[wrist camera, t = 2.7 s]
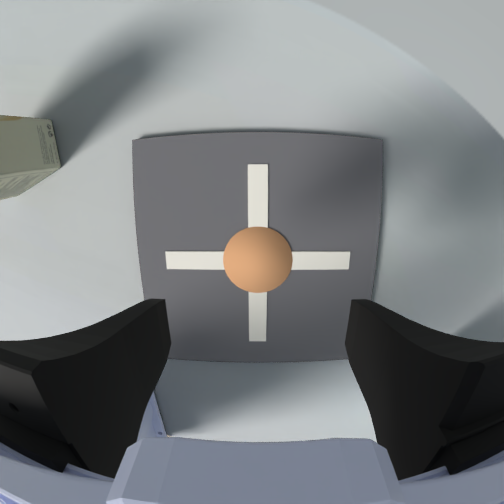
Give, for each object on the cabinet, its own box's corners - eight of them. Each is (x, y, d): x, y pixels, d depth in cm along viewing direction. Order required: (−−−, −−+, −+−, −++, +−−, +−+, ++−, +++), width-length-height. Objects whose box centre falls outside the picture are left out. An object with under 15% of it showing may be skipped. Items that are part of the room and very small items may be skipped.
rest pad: (357, 353, 21) (360, 358, 21) (156, 353, 22) (154, 358, 21) (379, 140, 17) (383, 139, 16) (135, 140, 17) (131, 139, 17)
